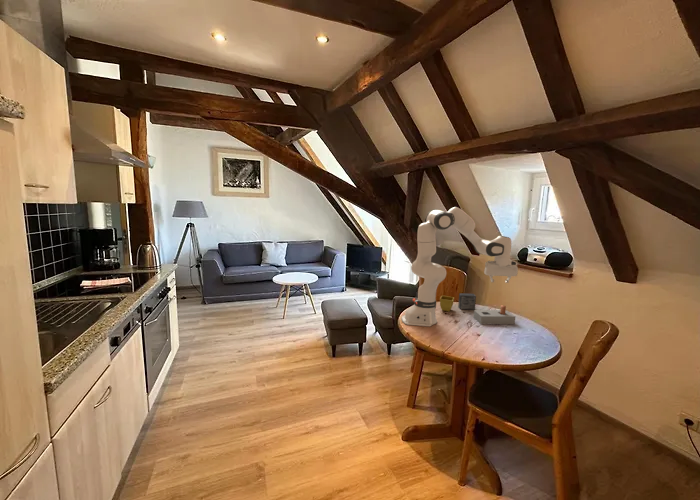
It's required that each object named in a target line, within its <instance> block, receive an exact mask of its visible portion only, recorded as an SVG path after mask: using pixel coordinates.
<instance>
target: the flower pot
mask: <svg viewBox="0 0 700 500" xmlns="http://www.w3.org/2000/svg"><path fill="white" fill-rule="evenodd" d="M454 303H455V297H453V296H447V295H441V296H440V298H439V307H440V309H441V311H444V312H451V310H452V308H453V306H454Z"/></svg>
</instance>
